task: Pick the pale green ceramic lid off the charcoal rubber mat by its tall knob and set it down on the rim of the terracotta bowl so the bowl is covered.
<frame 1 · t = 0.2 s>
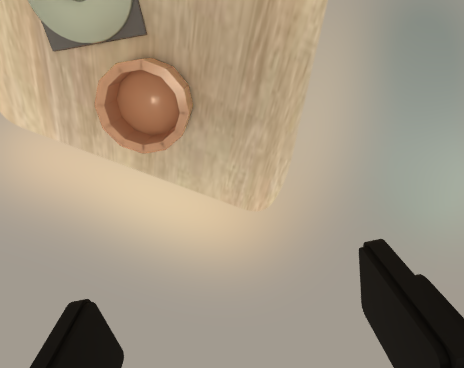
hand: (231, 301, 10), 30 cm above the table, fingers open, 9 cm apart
bowl: (152, 102, 37), on the table
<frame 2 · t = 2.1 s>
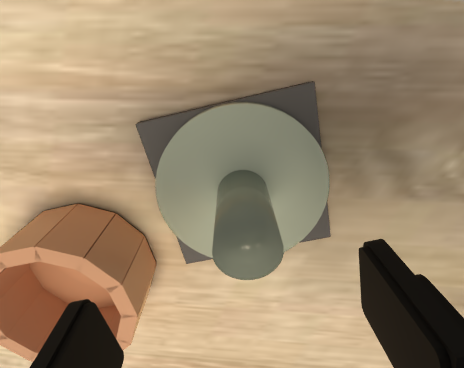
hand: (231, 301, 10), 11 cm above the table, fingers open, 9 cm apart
mat: (241, 182, 20), on the table
bowl: (89, 262, 23), on the table
lid: (241, 185, 19), resting on mat
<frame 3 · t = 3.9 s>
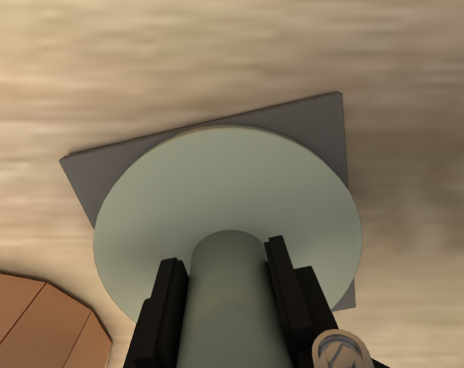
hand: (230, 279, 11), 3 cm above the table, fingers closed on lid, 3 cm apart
mat: (228, 238, 14), on the table
bowl: (16, 344, 16), on the table
lid: (229, 244, 13), point 1 cm above the table, touching gripper, mat
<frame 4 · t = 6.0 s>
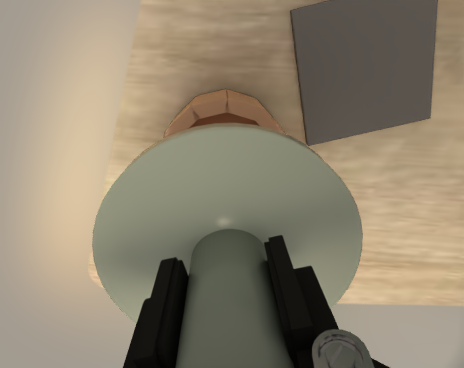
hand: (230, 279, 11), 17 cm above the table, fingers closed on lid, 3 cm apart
mat: (363, 68, 24), on the table
bowl: (224, 147, 27), on the table
lid: (228, 244, 13), point 15 cm above the table, touching gripper
when the fingers open (8 cm above the table, at t = 8.2 s): lid stays where it is, resting on bowl.
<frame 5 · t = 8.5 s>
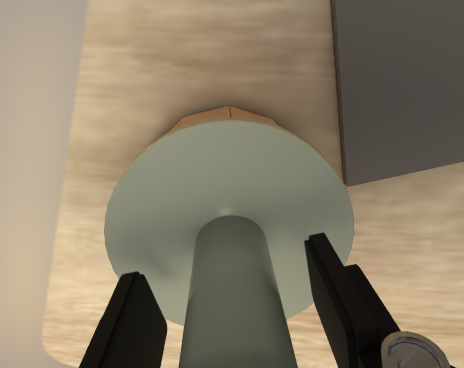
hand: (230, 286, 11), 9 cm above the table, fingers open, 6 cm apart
mat: (436, 75, 16), on the table
bowl: (226, 188, 19), on the table
lid: (230, 231, 14), point 5 cm above the table, touching bowl
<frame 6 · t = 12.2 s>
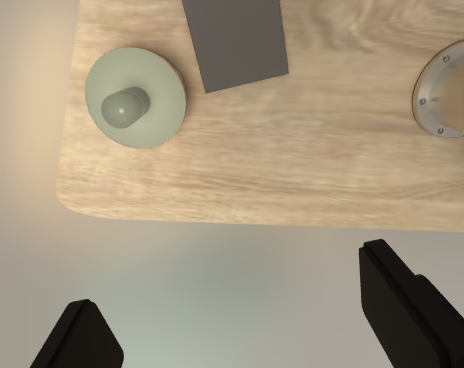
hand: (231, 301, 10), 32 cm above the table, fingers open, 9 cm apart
mat: (237, 37, 36), on the table
lid: (138, 100, 33), point 5 cm above the table, touching bowl
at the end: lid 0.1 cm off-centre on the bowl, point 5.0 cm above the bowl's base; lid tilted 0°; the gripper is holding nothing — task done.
